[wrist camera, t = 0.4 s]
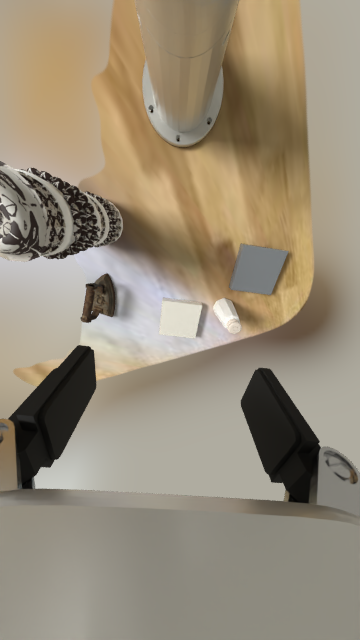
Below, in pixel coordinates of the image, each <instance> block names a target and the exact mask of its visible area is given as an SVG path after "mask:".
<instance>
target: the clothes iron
mask: <svg viewBox="0 0 360 640" xmlns="http://www.w3.org/2000/svg"><path fill="white" fill-rule="evenodd" d="M86 288H87V289H86V296H85V302H84V308H83V314H82V317H81V321H82V322H86V323H89V322H91V320H94V319H96V318H97V317H98V315H99V313H101V314H104V315H107V316H110V317H113V314H114V309H115V292H114V287H113V284H112V281H111V279H110V277H109V275H108V274H104V275H102V276H101V277H100V278H99V279H98V280H97V281H96V282H95V283H90V284H86ZM92 311H93V312H92ZM91 312H92V314H91Z"/></svg>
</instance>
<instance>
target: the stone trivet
mask: <svg viewBox="0 0 360 640" xmlns="http://www.w3.org/2000/svg"><path fill="white" fill-rule="evenodd" d="M201 309H202V303H201V302H194V301H186V300H178V299H170V298H163V300H162V310H161V320H160V330H159V334H160V335H169V336H178V337H187V338H195V337H196V332H197V328H198V323H199V318H200V314H201Z"/></svg>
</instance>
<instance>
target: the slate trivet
mask: <svg viewBox="0 0 360 640" xmlns="http://www.w3.org/2000/svg"><path fill="white" fill-rule="evenodd" d="M287 254H288V251H285V250H279V249H272V248H266V247H259V246H253V245H246V244H241V245H240V249H239V252H238V256H237V260H236V263H235V267H234V270H233V274H232V277H231V281H230V285H229V288H230V289H231V290H238V291H246V292H253V293H261V294H268V295H271V293H272V291H273V288H274V286H275V283H276V281H277V278H278V276H279V273H280V271H281V268H282V266H283V264H284V261H285V259H286V256H287Z"/></svg>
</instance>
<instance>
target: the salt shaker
mask: <svg viewBox="0 0 360 640" xmlns="http://www.w3.org/2000/svg"><path fill="white" fill-rule="evenodd" d="M213 309H214V312H215V314H216V316H217V317H218V319H219V320H220V321H221V323H222V324H223V326H224V327H225V328H227V329H228V331H229V332H230V333H232V334H236V333H238V332H240V331H241V329H242V326H241V324H240V320H239V317H238V315H237V312H236V310H235V308H234V305H233V303H232V301H231V300H228V299H226V298H223V299H220V300H218V301H216V303H215V305H214V307H213Z"/></svg>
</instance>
